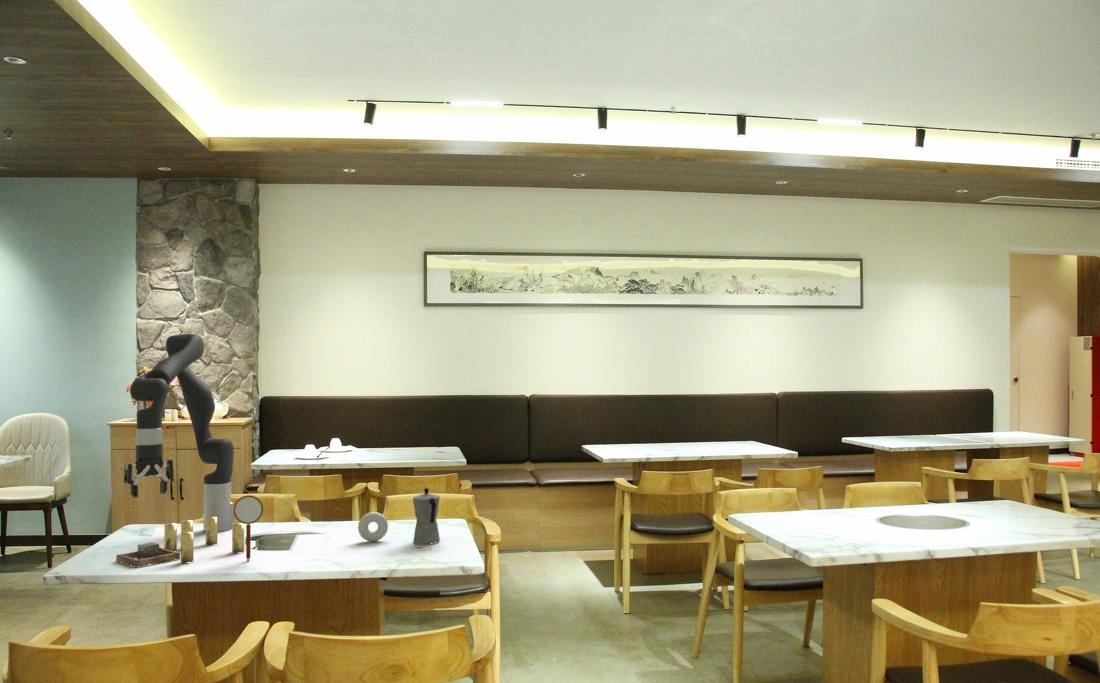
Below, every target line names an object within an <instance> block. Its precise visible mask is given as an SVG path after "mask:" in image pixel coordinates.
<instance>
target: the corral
mask: <svg viewBox="0 0 1100 683" xmlns="http://www.w3.org/2000/svg"><path fill="white" fill-rule="evenodd" d="M160 555H161V556H160ZM135 558H137V559H135ZM175 559H179V560H181V552H178V551H177V552H175V551H171V550H168V549H164V547H161V546H159V556H156V557H151V558H145V559H140V560H138V550H136V551H132V552H125V553H121V554H120V553H119V554H116V558H115V561H118V562H117V563H119V562H122V563H121V564H123V563H125V564H124V565H126V564H128V565H127V566H129V565H132V566H135V567H134V568H136V567H138V566H143V565H148V564H154V565H156V564H155V563H159V564H162V563H161V562H164V563H167V562H166V561H169V562H172V561H171V560H174V561H176V560H175ZM132 566H131V567H132ZM143 567H144V566H143ZM138 568H139V567H138Z"/></svg>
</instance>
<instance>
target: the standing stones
mask: <svg viewBox="0 0 1100 683" xmlns="http://www.w3.org/2000/svg"><path fill="white" fill-rule="evenodd" d="M231 530H232V531H231V535H232V536H231V538H232V539H231V542H232V543H231V545H232V546H231V551H232V552H235V553H234V554H239V553H238V552H242V553H244V552H245V523H242V522H233V524H232V529H231ZM194 534H195V533H194V520H193V519H183V520H180V563H181V562H182V563H187V562H192V561H193V562H194V546H195V544H194V542H195V540H194V538H195V536H194ZM163 535H164V537H163V538H164V541H163V542H164V545H163V546H164V547H163V548H164V549H168V550H171V551H177V550H178V544H177V542H178V536H177V535H178V523H177V522H167V523H164V534H163ZM206 544H207V545H206ZM212 544H216V545H218V532H217V516H210V517H206V532H205V545H206V546H213V545H212ZM177 552H178V551H177ZM193 562H192V563H193ZM182 563H181V564H182ZM187 564H188V563H187Z"/></svg>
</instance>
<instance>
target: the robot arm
mask: <svg viewBox="0 0 1100 683" xmlns="http://www.w3.org/2000/svg"><path fill="white" fill-rule="evenodd" d="M165 346H166V351H167V352H166V353H167V356H166V357H165V358H163V359H162V360H160V361H158V362H157V364H155V366H154V367H153V368H152V369H150V370H149V371H148V372H145V373H143V374H141V375H140V376H138V377H137V378H135V379H134V380H133V381H132V383H131V384H130V387H129V388H130V390H129V393H130V396H131V398H133V400H134V401H137V402H152V403H151V405H150V406H149V407H148V408H143V409H139V410H138V411H137V413H136V432H135V462H134V463H125V464H124V472H123V483H125V484H128V485H130V496H132V498H134V499H135V498H139V482H140V481H141V480H142V479H143V477H150V476H156V477H158V479H159V480H160V481H159V493H160V494H162V495H163V494H166V492H167V491H168V481H169V480H172V479H173V478H174V477H175V473H174V461H173V459H168V458H167V459H165V460H163V455H164V454H163V453H164V449H163V448H164V444H163V443H164V442H163V441H164V435H163V412H164V407H165V404H166V400H167V397H168V394H169V385H171V383H172V382H173V381H174V380H175V379H176V377H177V380H178V383H179V386H180V390H181V393H182V396H183V399H184V403H185V407H186V410H187V412H188V416H189V418H190V422H191V425H192V429H193V433H194V436H195V438H194V439H195V443H196V448H197V452H198V456H199V459H200V461H201V462H202V463H204V464H207V465H216V469H215V470H214V471H212V472H211V473H208V474H205V475H204V477H203V532H205V531H206V517H210V516H217V533H219V532H225V531H226V532H227V531H230V530H232V524H234V502H232V476H233V471H234V469H233V468H234V457H235V455H234V453H235V452H234V444H233V443H232V441H231V440H230V439H229V438H213V437H212V434H211V431H210V425H211V424H210V423H211V421H212V419H213V416H214V413H215V408H216V403H215V400H214V396H213V392H212V390H211V388H210V387H209V386H208V385H207V383H206V382H205V381H203V380H202V379H201V378H200V377H199V376H198V375H197V374H195V373H194V372H193V370H192V369H191V367H190V365H192V364H193V363H195V362H196V361H198V360H200V359H201V357H202V356H203V354H204V352H205V343H204V340H203V337H202V336H201V335H199V334H198V333H185V334H184V333H183V334H174V335H169V336H168V337H167V339H166V342H165ZM163 466H164V467H165V472H164V471H163V469H162V468H163ZM135 469H136V471H135V473H134V474H133V471H134V470H135Z"/></svg>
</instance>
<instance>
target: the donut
mask: <svg viewBox="0 0 1100 683" xmlns="http://www.w3.org/2000/svg"><path fill="white" fill-rule="evenodd" d="M388 522H389V521H388V519H387V518H386V517H385V515H383V514H382V513H380V512H378V511H377V512H375V511H370V512H367V513H366V514H364V515H363V516H362V517H361V518H360V519H359V522H358V524H357V525H358V526H357V530H358V533H359V535H360V537H361V538H362V539H364V541H367V542H372V541H374V542H378V541H380V540H382V539H383V538H384V537H385V536H386V534H387V532H388V530H389V529H388V528H389V523H388ZM371 523H375V524H376V525H377V529H376V530H374V531H372V530H370V529H369V525H370V524H371Z"/></svg>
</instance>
